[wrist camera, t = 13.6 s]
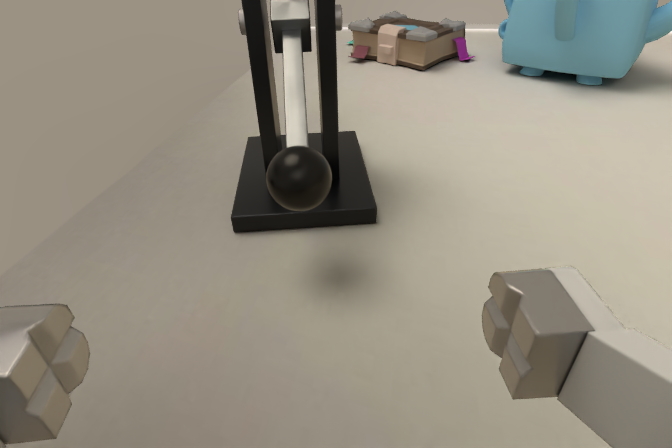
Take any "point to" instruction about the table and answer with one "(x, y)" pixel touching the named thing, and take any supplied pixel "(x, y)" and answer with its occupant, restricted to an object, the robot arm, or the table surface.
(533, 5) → the teapot
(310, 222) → the switch bracket
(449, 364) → the table surface
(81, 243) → the table surface
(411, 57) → the book
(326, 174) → the lever
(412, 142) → the table surface
